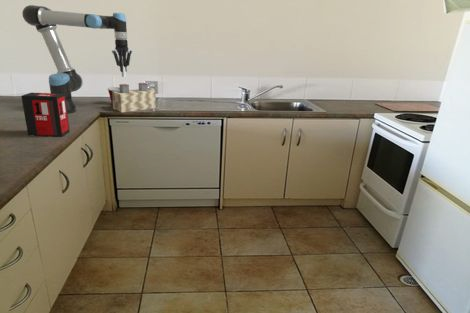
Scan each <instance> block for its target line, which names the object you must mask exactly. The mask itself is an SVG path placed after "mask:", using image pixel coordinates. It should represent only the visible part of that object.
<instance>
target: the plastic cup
mask: <svg viewBox="0 0 470 313" xmlns="http://www.w3.org/2000/svg"><path fill="white" fill-rule="evenodd" d="M106 89H107V91H108V94H109V98H110V102H111V105H112V106H113V98H112V92H113V91H120V86H118V87H117V86H110V87H107V88H106Z"/></svg>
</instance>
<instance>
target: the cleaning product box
mask: <svg viewBox="0 0 470 313" xmlns="http://www.w3.org/2000/svg"><path fill="white" fill-rule="evenodd" d="M20 97H21V102H22V108H23V109H22V110H23V113H24V119H25V125H26V131H27V136H28V135H34V136H33V137H48V136H52V137H53V138H57V137H58V138H63V137H65V136H66V135H68V134H70V133H71V131H70V130H71V129H70V123H69V117H68V116H69V115H68V114H69V113H67V107H66V99H65V94H54V93H51V92H50V93H49V92H28V93H26V94H22V95H21V96H20Z"/></svg>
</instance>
